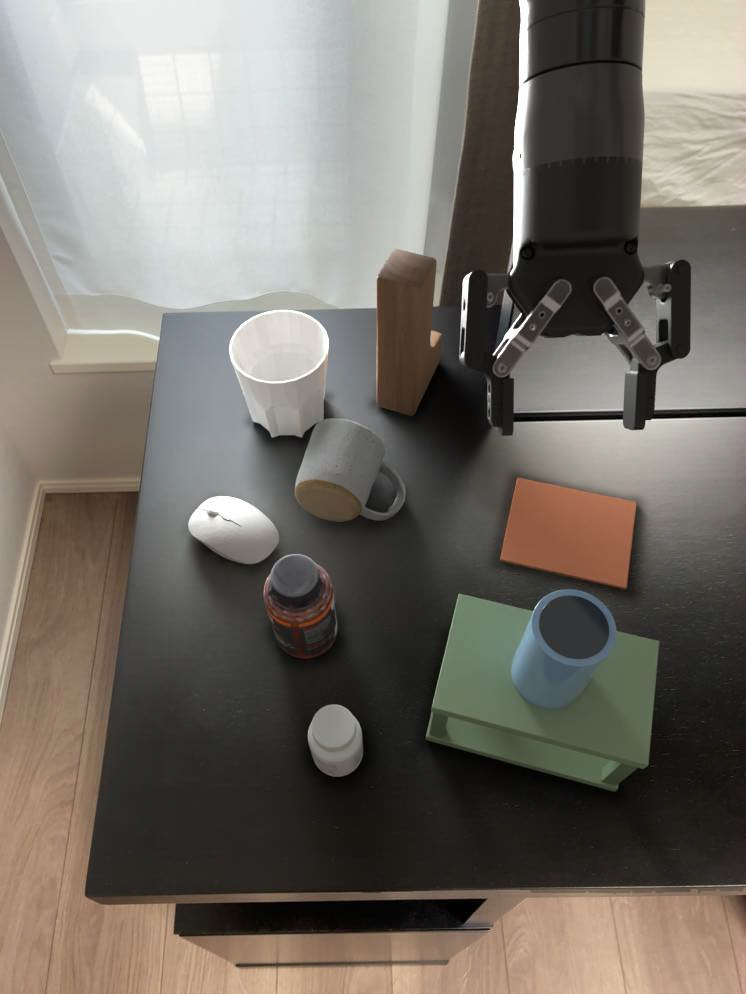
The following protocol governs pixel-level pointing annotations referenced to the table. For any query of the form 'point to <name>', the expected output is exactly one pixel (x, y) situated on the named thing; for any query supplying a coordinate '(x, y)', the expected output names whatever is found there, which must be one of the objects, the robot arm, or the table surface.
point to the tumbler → (562, 648)
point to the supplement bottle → (301, 606)
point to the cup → (282, 370)
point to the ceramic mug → (344, 472)
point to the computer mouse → (234, 529)
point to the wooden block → (405, 330)
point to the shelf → (532, 729)
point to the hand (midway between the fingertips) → (569, 431)
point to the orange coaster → (570, 533)
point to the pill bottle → (335, 740)
